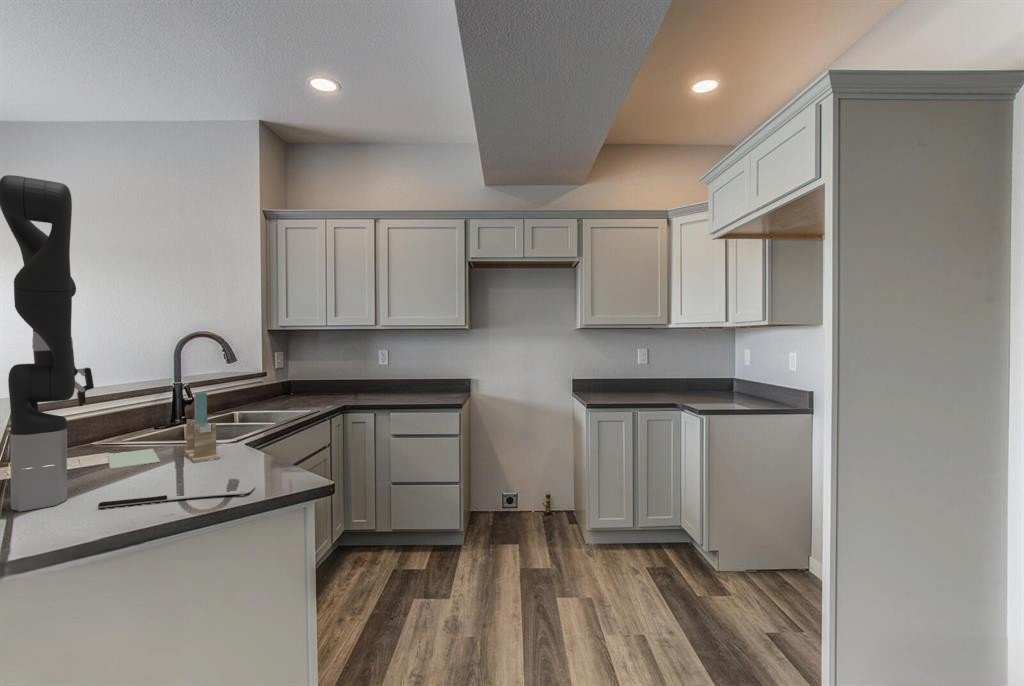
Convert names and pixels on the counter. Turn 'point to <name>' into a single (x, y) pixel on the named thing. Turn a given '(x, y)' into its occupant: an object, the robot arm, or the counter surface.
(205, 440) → the rack
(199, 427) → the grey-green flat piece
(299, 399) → the counter surface
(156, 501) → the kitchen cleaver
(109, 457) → the mat
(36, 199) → the robot arm
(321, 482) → the counter surface
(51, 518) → the counter surface
